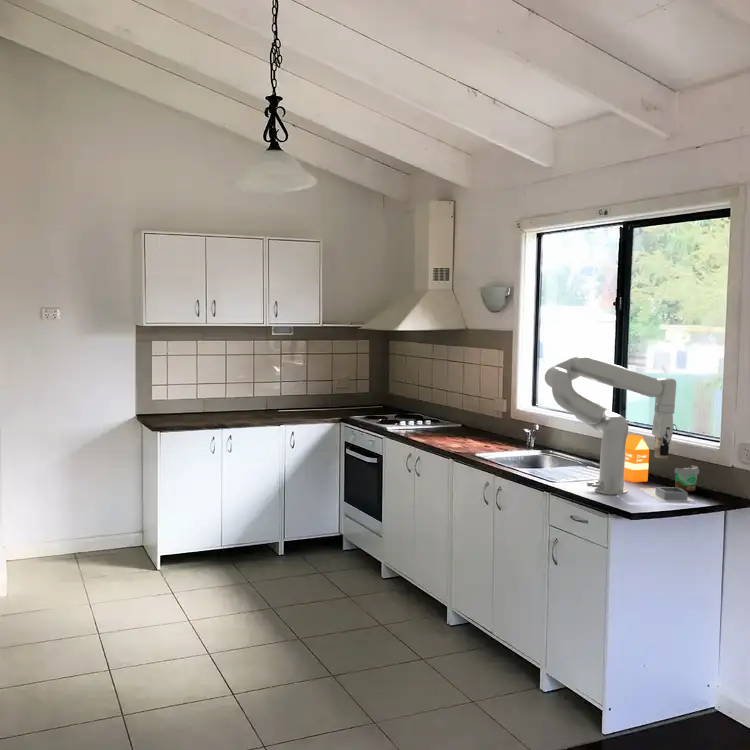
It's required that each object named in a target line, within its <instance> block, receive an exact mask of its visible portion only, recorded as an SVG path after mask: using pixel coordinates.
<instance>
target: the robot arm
mask: <svg viewBox="0 0 750 750" xmlns="http://www.w3.org/2000/svg"><path fill="white" fill-rule="evenodd" d="M579 377H582V378H585V379H589V380H592V381H595V382H597V383H601V384H604V385H607V386H610V387H613V388H617V389H622V390H627V391H630V392H634V393H636V394H640V395H641V396H646V397H649V398H655V399H654V409H653V411H654V414H653V420H652V427H651V428H652V429H651V434H652V436H653V437H654V444H655V443H656V437H658V438H661V443H662V445H661V446H660V455H661V456H668V457H669V450H670V442H671V441H672V438H673V432H674V414H675V410H676V409H675V408H676V396H677V395H676V393H677V392H676V391H677V380H675V378H669V377H659V378H657V377H651V376H648V375H646V374H642V373H639V372H636V371H633V370H630V369H628V368H626V367H623V366H621V365H617V364H613V363H611V362H608V361H605V360H601V359H599V358H595V357H592V356H589V355H583V354H578V355H576V356H573V357H572V358H568V359H566V360H565V361H562V362H560V363H558V364H555V365H554V366H552V367H549V369H547V370H546V372H545V374H544V381H545V384H547V386H549V387H550V388H551V393H552V396H553V399H554V401H555V403H557V405H558V406H560V408H562V409H563V410H566V411H567V412H568V413H569V414H571V415H573V416H574V417H575V418H576V419H577V420H579V421H580V422H581V423H583V424H586V425H587V426H589V427H590V428H592V429H594V430H596V431H598V432H600V433H602V438H601V443H600V458H599V459H600V460H599V478H598V479H596V480H595V481H587V482H586V486H587V487H592V488H594V491H595V492H597V493H598V494H601V493H602V495H607V494H609V495H610V496H618V495H622V494H623V495H624V494H627V493H628V489H626V488H624V487H625V485H624V484H625V480H624V470H625V450H626V440H627V437H628V436H629V424H628V421H627V420H626V418H625V417H624V416H623V415H621V414H618V413H616V412H613V411H611V410H609V409H607V408H606V407H604V406H602V405H601V404H600V403H598V402H597V401H595V400H593V399H590V398H588V397H586V396H584V395H583V394H581V393H580V392H579V391H576V390H575V388H574V386H573V383H572V382H573V381H574V380H576V379H578V378H579ZM663 437H667V438H663ZM664 439H666V440H665V441H664ZM654 453H655V450H654Z"/></svg>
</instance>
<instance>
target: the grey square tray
mask: <svg viewBox="0 0 750 750" xmlns="http://www.w3.org/2000/svg"><path fill="white" fill-rule="evenodd" d="M655 488H656V491H655V495H657V496H659V497H660V498H662V499H664V500H687V497H689V496H688V494H689V493H688V492H689V491H684V490H682V489H680V488H678V487H673V486H672V487H670V486H668V487H667V486H656V487H655Z"/></svg>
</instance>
